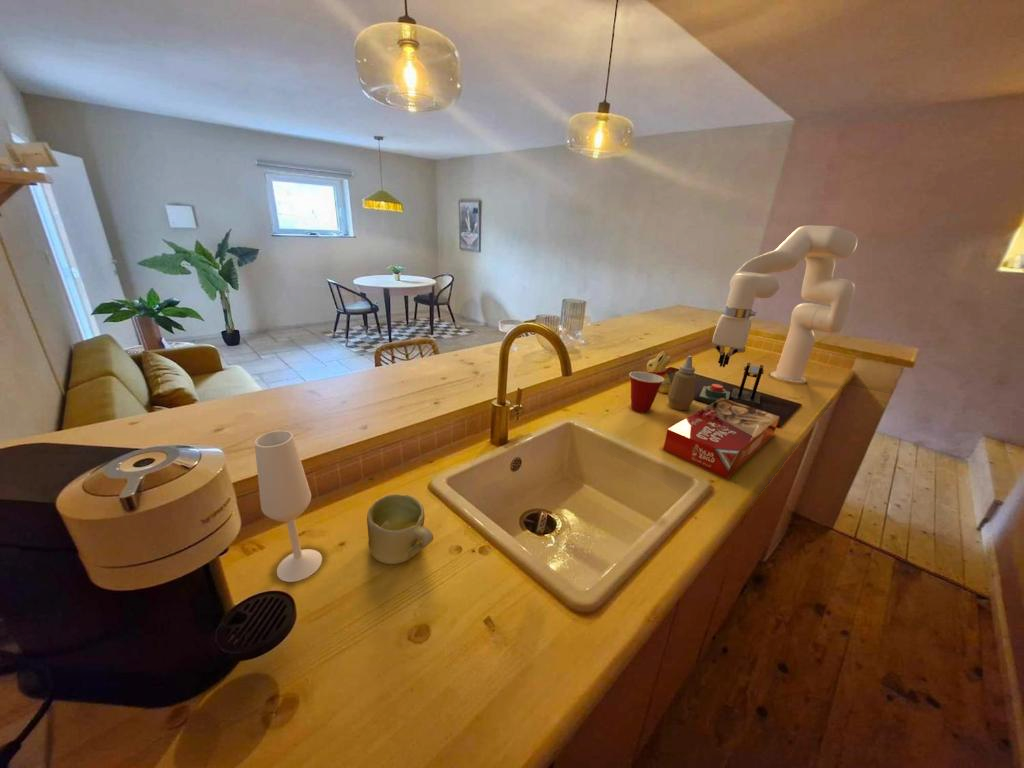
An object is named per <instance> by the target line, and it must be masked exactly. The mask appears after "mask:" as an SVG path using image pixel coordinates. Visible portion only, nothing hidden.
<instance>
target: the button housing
mask: <svg viewBox="0 0 1024 768" xmlns="http://www.w3.org/2000/svg"><path fill="white" fill-rule="evenodd" d="M711 386H712V385H708V386H705V385H704V386H703V387H702V390H701V391H700V394H699V396H698V400H699V401H704V402H707V403H710V404H712V403H713V402H715V401H717V400H719V399H720V398H724V399H727V400H730V397H731V391H728V390H726V389H725V388H723V389H722V392H717V391H713V390H711Z"/></svg>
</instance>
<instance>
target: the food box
mask: <svg viewBox="0 0 1024 768" xmlns="http://www.w3.org/2000/svg"><path fill="white" fill-rule="evenodd" d="M779 420H780V415H776V414H774V413H771V412H767V411H764V410H761V409H758V408H755V407H752V406H748V405H746V404H742V403H739V402H736V401H733V400H730V399H729V400H727V399H724V398H720V399H719V400H717V401H715V402H713V403H710V404H708V405H707V406H705V407H703V408H701V409H700V410H698V411H696V412H695V413H693V414H691V415H689V416H688V417H686V418H684V419H682V420H681V421H679V422H677V423H675V424H674V425H672V426H671V427H669V428H667V431H666V435H665V440H664V444H663V449H662V450H663V451H665V452H667V453H669V454H671V455H674V456H675V457H678V458H680V459H682V460H684V461H687V462H689V463H691V464H693V465H695V466H697V467H700V468H701V469H704V470H705V471H708V472H710V473H712V474H714V475H717V476H719V477H721V478H723V479H725V480H727V479H728V478H729V477H730V476H731V475H732V474H733V473H735V472H736V471H737V470H738V469H740V467H741V466H742V465H743V464H744V463H746V462H747V461H748V459H750V458H751V457H752V456H753V455H754V454H755V453H756V452H757V451H758V450H759V449H761V448H762V447H763V446H764V445H765V444H766V443H767V442H768V441H769V440H770V439H771V438H772V437H774V435H775V431H776V430H777V429H776V428H777V426H778V424H779Z"/></svg>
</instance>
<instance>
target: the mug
mask: <svg viewBox="0 0 1024 768" xmlns="http://www.w3.org/2000/svg"><path fill="white" fill-rule="evenodd" d="M423 506H424V505H423V504H422V503H421V502H420V500H418V499H417V498H416V497H414V496H412V495H408V494H398V493H397V494H395V493H394V494H388V495H385V496H383V497H381V498H379V499H377V500H376V501H374V502H373V503H372V504H371V506H370V507H369V509H368V511H367V514H366V515H367V516H366V523H367V536H368V537H367V538H368V543H367V544H368V549H369V553H370V555H371V556H372V558H373V559H375V561H378V562H380V563H382V564H385V565H397V564H402V563H405V562H407V561H409V560H411V559H412V558H413V557H415V556H416V555H417V553H418V552H420V551H421V550H424V549H425V548H426V547H428V546H429V545H430V544H431V543H432V542H433V540H434V534H433V533H432V531H431V530H430V528H428V527H427V526H425V518H426V517H425V516H426V515H425V509H424V507H423Z"/></svg>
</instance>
